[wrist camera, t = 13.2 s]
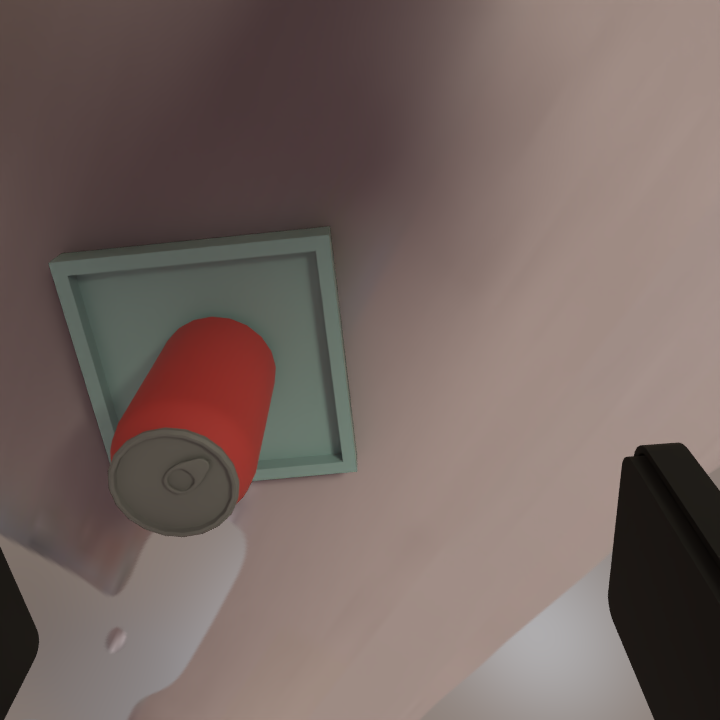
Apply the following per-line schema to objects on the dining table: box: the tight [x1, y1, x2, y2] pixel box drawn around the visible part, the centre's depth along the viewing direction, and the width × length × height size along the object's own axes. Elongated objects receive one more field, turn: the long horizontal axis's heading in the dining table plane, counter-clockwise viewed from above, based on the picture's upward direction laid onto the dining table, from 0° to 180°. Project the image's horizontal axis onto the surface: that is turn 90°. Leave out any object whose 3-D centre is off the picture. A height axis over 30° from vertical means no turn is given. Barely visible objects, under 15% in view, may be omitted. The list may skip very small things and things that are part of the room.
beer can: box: [108, 317, 276, 537], centre depth 34 cm, size 7×7×12 cm
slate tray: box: [48, 226, 357, 481], centre depth 39 cm, size 15×15×2 cm
